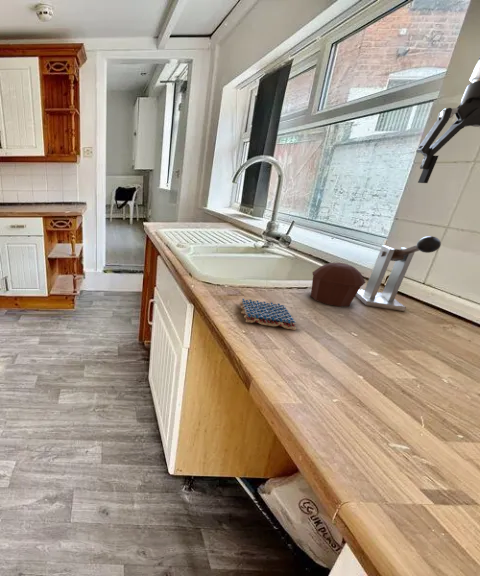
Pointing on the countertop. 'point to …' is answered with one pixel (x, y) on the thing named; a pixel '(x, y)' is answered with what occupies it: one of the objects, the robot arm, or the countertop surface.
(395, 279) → the silver metal stand
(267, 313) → the woven mat
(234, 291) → the countertop surface
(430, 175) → the robot arm
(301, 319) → the countertop surface
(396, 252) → the arm
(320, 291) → the muffin
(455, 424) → the countertop surface
